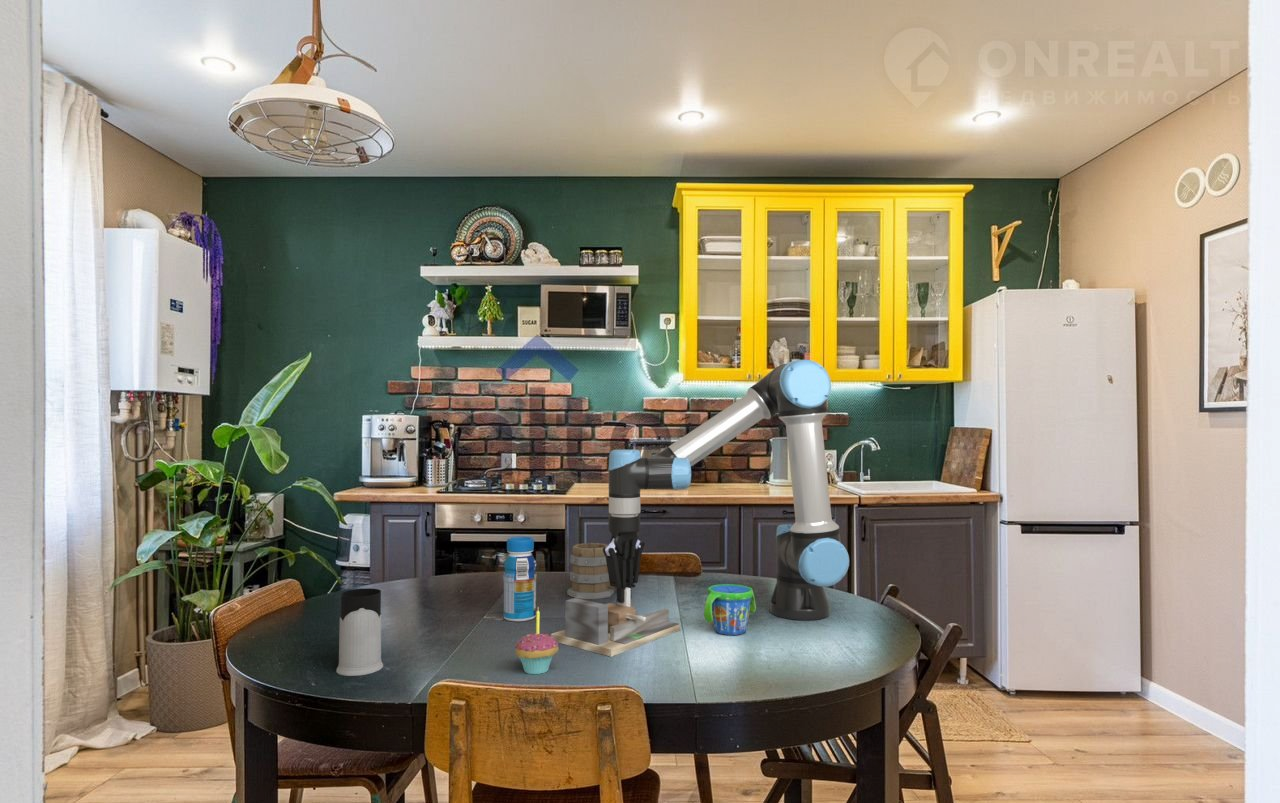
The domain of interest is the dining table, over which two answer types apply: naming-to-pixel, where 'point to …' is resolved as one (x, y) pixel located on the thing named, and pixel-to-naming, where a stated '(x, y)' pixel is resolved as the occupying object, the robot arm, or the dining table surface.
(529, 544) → the beverage bottle
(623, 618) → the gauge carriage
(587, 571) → the tankard
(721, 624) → the snack cup
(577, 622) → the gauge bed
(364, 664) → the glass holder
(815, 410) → the robot arm
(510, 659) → the dining table surface
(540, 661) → the cupcake
